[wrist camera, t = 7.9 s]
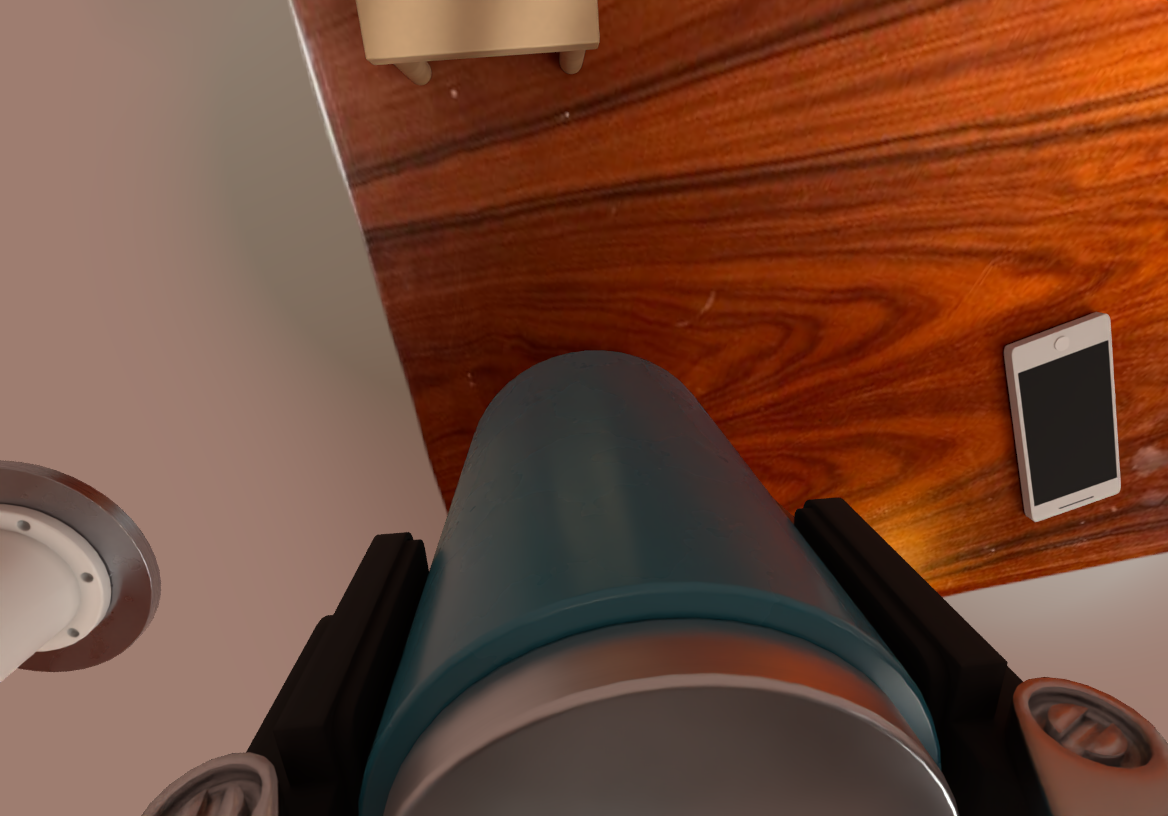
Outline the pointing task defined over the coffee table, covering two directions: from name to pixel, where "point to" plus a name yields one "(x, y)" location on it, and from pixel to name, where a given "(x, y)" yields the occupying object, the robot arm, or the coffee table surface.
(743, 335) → the coffee table surface
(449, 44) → the stool
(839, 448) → the coffee table surface
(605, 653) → the can
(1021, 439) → the smartphone
